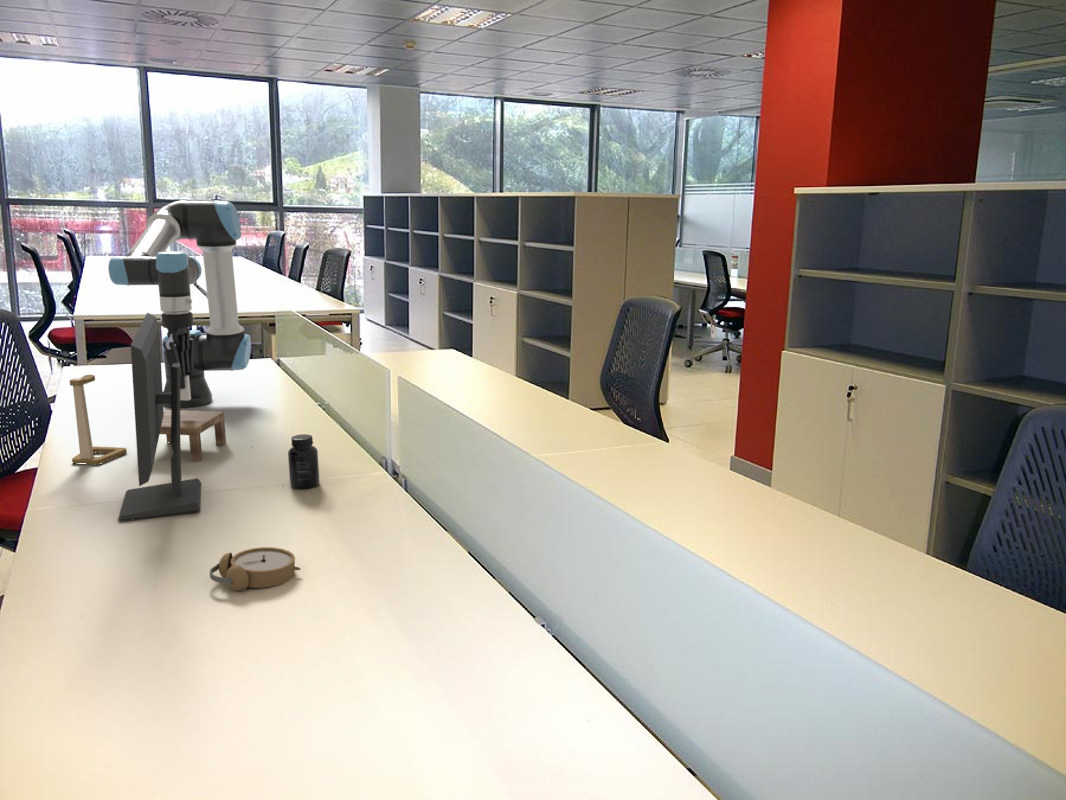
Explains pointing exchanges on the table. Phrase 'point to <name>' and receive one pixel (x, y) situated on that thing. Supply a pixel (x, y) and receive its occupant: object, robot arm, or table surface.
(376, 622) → the table surface
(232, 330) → the robot arm
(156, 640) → the table surface
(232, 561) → the alarm clock
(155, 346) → the computer monitor
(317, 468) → the supplement bottle
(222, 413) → the stool
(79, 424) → the headphone stand
